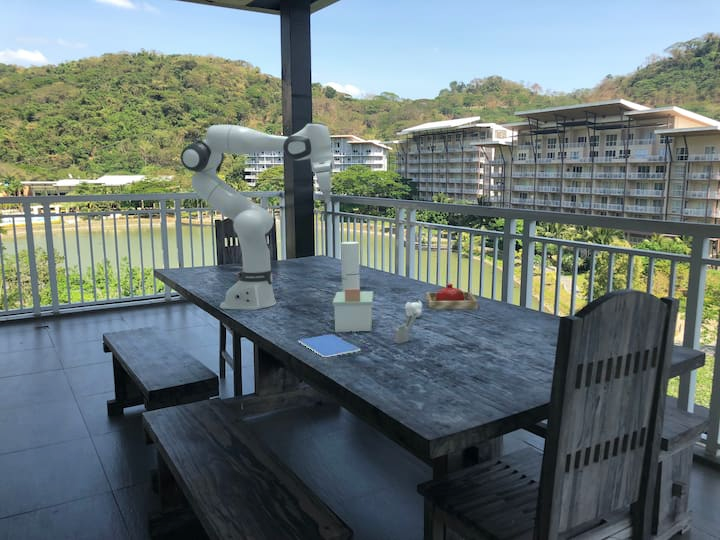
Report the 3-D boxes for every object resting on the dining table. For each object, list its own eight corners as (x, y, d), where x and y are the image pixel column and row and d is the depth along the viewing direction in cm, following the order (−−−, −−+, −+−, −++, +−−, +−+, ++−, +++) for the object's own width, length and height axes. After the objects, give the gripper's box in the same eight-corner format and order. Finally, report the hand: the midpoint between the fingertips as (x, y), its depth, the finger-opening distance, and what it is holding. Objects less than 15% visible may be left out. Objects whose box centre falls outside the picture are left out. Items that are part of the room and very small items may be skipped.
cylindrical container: (358, 306, 219) (356, 243, 215) (340, 305, 221) (339, 243, 217) (361, 302, 226) (360, 241, 222) (344, 301, 228) (343, 241, 223)
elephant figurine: (412, 320, 196) (412, 304, 195) (399, 316, 202) (399, 300, 201) (427, 317, 199) (427, 301, 198) (414, 313, 206) (414, 297, 205)
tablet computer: (362, 353, 162) (362, 348, 162) (323, 360, 156) (323, 356, 156) (332, 337, 179) (332, 333, 179) (296, 343, 173) (296, 339, 173)
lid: (332, 307, 181) (332, 290, 180) (337, 296, 198) (336, 280, 197) (372, 307, 181) (371, 290, 180) (373, 296, 198) (372, 280, 197)
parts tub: (335, 331, 183) (334, 305, 182) (339, 319, 199) (338, 295, 197) (371, 331, 183) (370, 305, 181) (372, 319, 198) (371, 294, 197)
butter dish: (429, 305, 220) (429, 284, 218) (445, 300, 228) (445, 280, 226) (453, 309, 212) (453, 287, 210) (469, 304, 220) (470, 283, 219)
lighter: (398, 343, 169) (398, 318, 167) (394, 342, 170) (394, 317, 169) (416, 339, 173) (416, 315, 171) (412, 338, 174) (412, 313, 173)
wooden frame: (429, 309, 212) (429, 301, 211) (426, 299, 229) (426, 292, 228) (477, 308, 211) (477, 301, 210) (470, 298, 228) (470, 291, 227)
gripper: (316, 166, 219) (321, 200, 222) (312, 167, 199) (318, 205, 202) (332, 164, 219) (337, 198, 222) (330, 165, 199) (335, 203, 202)
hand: (328, 202), depth 212 cm, fingers open, 8 cm apart
